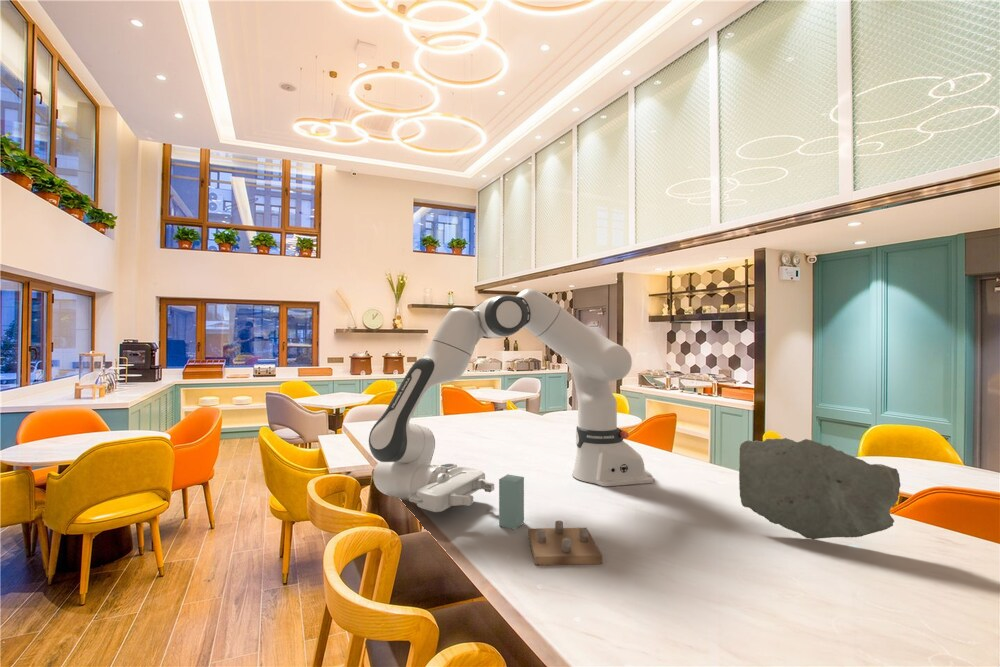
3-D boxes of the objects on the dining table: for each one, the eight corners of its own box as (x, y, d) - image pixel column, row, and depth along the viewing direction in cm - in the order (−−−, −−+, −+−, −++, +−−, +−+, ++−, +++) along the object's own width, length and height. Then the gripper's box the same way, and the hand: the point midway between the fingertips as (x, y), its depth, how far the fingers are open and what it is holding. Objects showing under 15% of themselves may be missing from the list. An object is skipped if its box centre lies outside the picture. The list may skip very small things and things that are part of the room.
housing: (586, 534, 96) (586, 517, 96) (601, 563, 84) (601, 544, 84) (528, 535, 95) (528, 518, 95) (535, 565, 83) (535, 545, 83)
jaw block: (499, 526, 100) (499, 479, 100) (507, 519, 104) (507, 474, 104) (516, 529, 98) (515, 482, 98) (523, 522, 102) (523, 476, 102)
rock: (895, 547, 90) (895, 443, 90) (904, 561, 84) (904, 450, 84) (739, 521, 103) (739, 430, 103) (738, 531, 97) (738, 435, 97)
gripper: (403, 484, 102) (457, 494, 95) (455, 461, 120) (503, 468, 113) (404, 513, 102) (457, 525, 95) (455, 486, 120) (503, 494, 113)
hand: (482, 494), depth 105 cm, fingers open, 8 cm apart
